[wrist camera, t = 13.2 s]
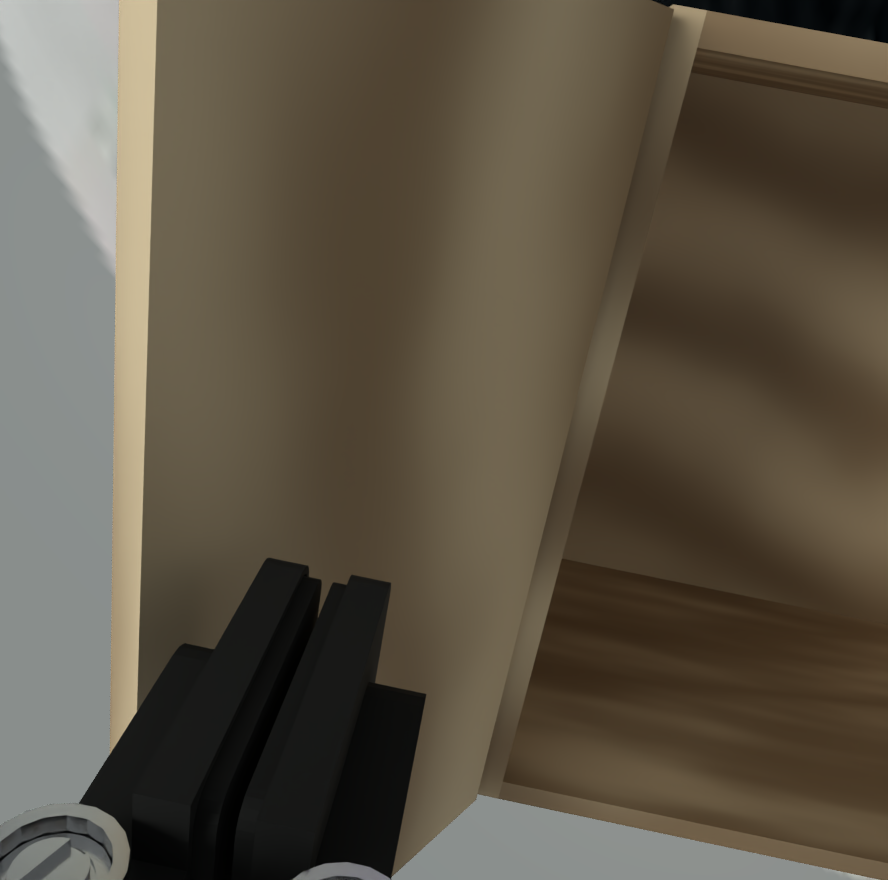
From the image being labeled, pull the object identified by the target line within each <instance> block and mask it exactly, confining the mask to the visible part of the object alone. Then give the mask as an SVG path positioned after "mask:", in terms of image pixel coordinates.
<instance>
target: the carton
mask: <svg viewBox="0 0 888 880" xmlns="http://www.w3.org/2000/svg"><path fill="white" fill-rule="evenodd" d="M670 8H672V9H674V12H673V16H672V20H671V24H670V28H669V32H668V36H667V40H666V44H665V48H664V52H663V56H662V60H661V64H660V68H659V72H658V76H657V80H656V84H655V88H654V92H653V96H652V100H651V104H650V108H649V112H648V116H647V120H646V124H645V128H644V132H643V136H642V140H641V144H640V148H639V152H638V156H637V160H636V164H635V168H634V172H633V176H632V180H631V184H630V188H629V192H628V196H627V200H626V204H625V208H624V212H623V216H622V220H621V224H620V228H619V232H618V236H617V240H616V244H615V248H614V252H613V255H612V259H611V263H610V267H609V271H608V275H607V279H606V283H605V287H604V291H603V295H602V299H601V303H600V307H599V311H598V315H597V319H596V323H595V327H594V331H593V335H592V339H591V343H590V347H589V351H588V355H587V359H586V363H585V367H584V371H583V375H582V379H581V383H580V387H579V391H578V395H577V399H576V403H575V407H574V411H573V415H572V419H571V423H570V427H569V431H568V435H567V439H566V443H565V447H564V451H563V455H562V459H561V463H560V467H559V471H558V475H557V479H556V483H555V487H554V491H553V495H552V499H551V503H550V507H549V511H548V515H547V519H546V523H545V527H544V531H543V535H542V539H541V543H540V547H539V550H538V554H537V558H536V562H535V566H534V570H533V574H532V578H531V582H530V586H529V590H528V594H527V598H526V602H525V606H524V610H523V614H522V618H521V622H520V626H519V630H518V634H517V638H516V642H515V646H514V650H513V654H512V658H511V662H510V666H509V670H508V674H507V678H506V682H505V686H504V690H503V694H502V698H501V702H500V706H499V710H498V714H497V718H496V722H495V726H494V730H493V734H492V738H491V742H490V746H489V750H488V754H487V758H486V762H485V766H484V770H483V774H482V778H481V782H480V786H479V790H478V794H480V795H484V796H489V797H493V798H498V799H503V800H508V801H513V802H517V803H522V804H526V805H531V806H536V807H541V808H546V809H550V810H555V811H560V812H564V813H569V814H574V815H579V816H583V817H588V818H592V819H597V820H602V821H606V822H612V823H616V824H621V825H625V826H630V827H635V828H639V829H644V830H649V831H654V832H658V833H663V834H668V835H672V836H677V837H682V838H687V839H691V840H696V841H701V842H705V843H710V844H715V845H720V846H725V847H729V848H734V849H738V850H743V851H748V852H753V853H758V854H762V855H767V856H771V857H776V858H781V859H785V860H790V861H795V862H800V863H804V864H809V865H814V866H818V867H823V868H828V869H833V870H837V871H842V872H847V873H851V874H856V875H861V876H865V877H870V878H875V879H880V880H888V44H887V43H882V42H876V41H871V40H866V39H860V38H855V37H849V36H844V35H838V34H833V33H827V32H822V31H816V30H811V29H805V28H800V27H794V26H789V25H783V24H778V23H773V22H767V21H762V20H756V19H751V18H745V17H740V16H734V15H729V14H723V13H718V12H712V11H707V10H701V9H696V8H691V7H685V6H680V5H674V4H673V5H671V6H670Z"/></svg>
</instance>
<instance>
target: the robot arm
mask: <svg viewBox="0 0 888 880" xmlns="http://www.w3.org/2000/svg"><path fill="white" fill-rule="evenodd" d="M321 588H322V581H321V579H316V578H311V577H309V567H308V565H303V564H298V563H293V562H288V561H283V560H278V559H274V558H267V559H266V560H265V561H264V563H263V564H262V566H261V568H260V570H259V572H258V573H257V575H256V577H255V579H254V580H253V582H252V584H251V586H250V587H249V589H248V591H247V593H246V594H245V596H244V598H243V600H242V601H241V603H240V605H239V607H238V608H237V610H236V612H235V614H234V616H233V617H232V619H231V621H230V623H229V624H228V626H227V628H226V630H225V631H224V633H223V635H222V637H221V638H220V640H219V642H218V644H217V645H216V647H215V649H210V648H205V647H201V646H196V645H191V644H186V643H184V644H182V645H181V646H179V647H178V649H177V650H176V651H175V653H174V654H173V655H172V657H171V659H170V660H169V662H168V663H167V665H166V666H165V668H164V670H163V671H162V673H161V674H160V676H159V677H158V679H157V681H156V682H155V684H154V685H153V687H152V689H151V690H150V692H149V693H148V695H147V696H146V698H145V700H144V701H143V703H142V704H141V706H140V708H139V709H138V711H137V712H136V714H135V715H134V717H133V719H132V720H131V722H130V723H129V725H128V727H127V728H126V730H125V731H124V733H123V734H122V736H121V738H120V739H119V741H118V742H117V744H116V745H115V747H114V749H113V750H112V752H111V753H110V755H109V757H108V758H107V760H106V761H105V763H104V765H103V766H102V768H101V769H100V771H99V772H98V774H97V776H96V777H95V779H94V780H93V782H92V783H91V785H90V787H89V788H88V790H87V791H86V793H85V795H84V796H83V798H82V799H81V801H80V802H79V804H77V803H66V804H65V803H64V804H50V805H46V806H43V807H39V808H35V809H32V810H28V811H25V812H24V813H22V814H20V815H18V816H16V817H14V818H12V819H10V820H8V821H6V822H4V823H3V824H1V825H0V880H391V877H392V872H393V866H394V861H395V856H396V851H397V846H398V840H399V835H400V830H401V825H402V819H403V814H404V809H405V804H406V799H407V793H408V788H409V783H410V778H411V772H412V767H413V762H414V757H415V752H416V746H417V741H418V736H419V731H420V725H421V720H422V715H423V710H424V705H425V699H426V694H424V693H420V692H415V691H410V690H405V689H401V688H396V687H391V686H386V685H382V684H377V683H375V681H376V675H377V669H378V663H379V657H380V651H381V645H382V639H383V633H384V627H385V622H386V616H387V610H388V604H389V598H390V592H391V583H390V582H385V581H380V580H375V579H371V578H366V577H361V576H356V575H351V576H350V578H349V580H348V583H347V585H345V584H340V583H336V582H333V583H332V585H331V587H330V590H329V592H328V595H327V597H326V600H325V602H324V604H323V607H322V609H321V612H320V614H319V617H318V612H319V604H320V596H321Z"/></svg>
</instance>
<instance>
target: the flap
mask: <svg viewBox="0 0 888 880" xmlns="http://www.w3.org/2000/svg"><path fill="white" fill-rule="evenodd" d="M673 12H674V9H672V8H670V7H667V6H664V5H662V4H659V3H657V2H654V1H652V0H119V55H118V136H117V217H116V299H115V301H116V303H115V379H114V461H113V462H114V463H113V541H112V544H113V546H112V622H111V623H112V625H111V627H112V628H111V703H110V704H111V705H110V706H111V707H110V753H111V752H112V750H113V749H114V747H115V745H116V744H117V742H118V741H119V739H120V738H121V736H122V734H123V733H124V731H125V730H126V728H127V727H128V725H129V723H130V722H131V720H132V719H133V717H134V715H135V714H136V712H137V711H138V709H139V708H140V706H141V704H142V703H143V701H144V700H145V698H146V696H147V695H148V693H149V692H150V690H151V689H152V687H153V685H154V684H155V682H156V681H157V679H158V677H159V676H160V674H161V673H162V671H163V670H164V668H165V666H166V665H167V663H168V662H169V660H170V659H171V657H172V655H173V654H174V653H175V651H176V650H177V649H178V647H179V646H181V645H182V644H184V643H186V644H191V645H196V646H201V647H205V648H210V649H215V647H216V645H217V644H218V642H219V640H220V638H221V637H222V635H223V633H224V631H225V630H226V628H227V626H228V624H229V623H230V621H231V619H232V617H233V616H234V614H235V612H236V610H237V608H238V607H239V605H240V603H241V601H242V600H243V598H244V596H245V594H246V593H247V591H248V589H249V587H250V586H251V584H252V582H253V580H254V579H255V577H256V575H257V573H258V572H259V570H260V568H261V566H262V564H263V563H264V561H265V560H266V559H267V558H274V559H278V560H283V561H288V562H293V563H298V564H303V565H308V567H309V577H311V578H316V579H321V581H322V588H321V596H320V604H319V612H318V617H319V614H320V612H321V609H322V607H323V604H324V602H325V600H326V597H327V595H328V592H329V590H330V587H331V585H332V583H333V582H336V583H340V584H345V585H347V583H348V580H349V578H350V576H351V575H356V576H361V577H366V578H371V579H375V580H380V581H385V582H390V583H391V592H390V598H389V604H388V610H387V616H386V622H385V627H384V633H383V639H382V645H381V651H380V657H379V663H378V669H377V675H376V681H375V683H377V684H382V685H386V686H391V687H396V688H401V689H405V690H410V691H415V692H420V693H424V694H426V699H425V705H424V710H423V715H422V720H421V725H420V731H419V736H418V741H417V746H416V752H415V757H414V762H413V767H412V772H411V778H410V783H409V788H408V793H407V799H406V804H405V809H404V814H403V819H402V825H401V830H400V835H399V840H398V846H397V851H396V856H395V861H394V866H393V872H392V876H393V875H394V874H395V873H396V872H398V871H399V870H400V869H401V868H402V867H403V866H404V865H405V864H406V863H407V862H408V861H410V860H411V859H412V858H413V857H414V856H415V855H416V854H417V853H418V852H419V851H420V850H422V849H423V848H424V847H425V846H426V845H427V844H428V843H429V842H430V841H431V840H433V838H435V837H436V836H437V835H438V834H439V833H440V832H441V831H442V830H443V829H445V828H446V827H447V826H448V825H449V824H450V823H451V822H452V821H453V820H454V819H456V818H457V817H458V816H459V815H460V814H461V813H462V812H463V811H464V810H465V809H466V808H467V807H469V806H470V805H471V804H472V803H473V802H474V801H475V800H476V798H477V794H478V790H479V786H480V782H481V778H482V774H483V770H484V766H485V762H486V758H487V754H488V750H489V746H490V742H491V738H492V734H493V730H494V726H495V722H496V718H497V714H498V710H499V706H500V702H501V698H502V694H503V690H504V686H505V682H506V678H507V674H508V670H509V666H510V662H511V658H512V654H513V650H514V646H515V642H516V638H517V634H518V630H519V626H520V622H521V618H522V614H523V610H524V606H525V602H526V598H527V594H528V590H529V586H530V582H531V578H532V574H533V570H534V566H535V562H536V558H537V554H538V550H539V547H540V543H541V539H542V535H543V531H544V527H545V523H546V519H547V515H548V511H549V507H550V503H551V499H552V495H553V491H554V487H555V483H556V479H557V475H558V471H559V467H560V463H561V459H562V455H563V451H564V447H565V443H566V439H567V435H568V431H569V427H570V423H571V419H572V415H573V411H574V407H575V403H576V399H577V395H578V391H579V387H580V383H581V379H582V375H583V371H584V367H585V363H586V359H587V355H588V351H589V347H590V343H591V339H592V335H593V331H594V327H595V323H596V319H597V315H598V311H599V307H600V303H601V299H602V295H603V291H604V287H605V283H606V279H607V275H608V271H609V267H610V263H611V259H612V255H613V252H614V248H615V244H616V240H617V236H618V232H619V228H620V224H621V220H622V216H623V212H624V208H625V204H626V200H627V196H628V192H629V188H630V184H631V180H632V176H633V172H634V168H635V164H636V160H637V156H638V152H639V148H640V144H641V140H642V136H643V132H644V128H645V124H646V120H647V116H648V112H649V108H650V104H651V100H652V96H653V92H654V88H655V84H656V80H657V76H658V72H659V68H660V64H661V60H662V56H663V52H664V48H665V44H666V40H667V36H668V32H669V28H670V24H671V20H672V16H673Z"/></svg>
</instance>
